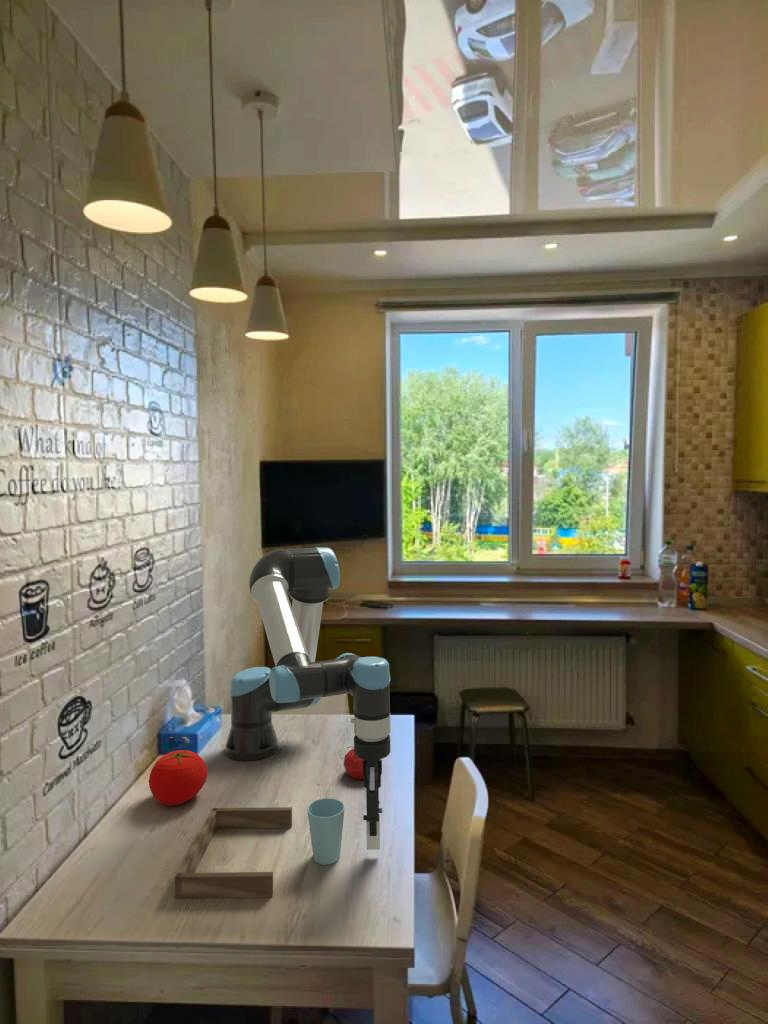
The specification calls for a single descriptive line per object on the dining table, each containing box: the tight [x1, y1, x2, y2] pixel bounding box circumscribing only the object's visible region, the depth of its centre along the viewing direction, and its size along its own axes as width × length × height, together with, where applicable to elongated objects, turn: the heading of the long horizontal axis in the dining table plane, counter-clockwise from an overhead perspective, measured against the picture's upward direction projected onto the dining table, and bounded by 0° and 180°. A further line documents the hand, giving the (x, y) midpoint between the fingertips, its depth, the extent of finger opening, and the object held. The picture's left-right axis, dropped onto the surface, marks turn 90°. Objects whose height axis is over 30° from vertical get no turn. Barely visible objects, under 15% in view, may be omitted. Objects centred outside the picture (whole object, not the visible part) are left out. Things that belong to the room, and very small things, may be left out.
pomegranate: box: [343, 745, 364, 780], centre depth 157 cm, size 10×10×9 cm
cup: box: [306, 797, 346, 866], centre depth 122 cm, size 8×8×10 cm
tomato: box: [148, 749, 209, 807], centre depth 145 cm, size 13×14×12 cm
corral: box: [174, 806, 293, 899], centre depth 122 cm, size 24×18×4 cm
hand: (373, 847), depth 122 cm, fingers closed
